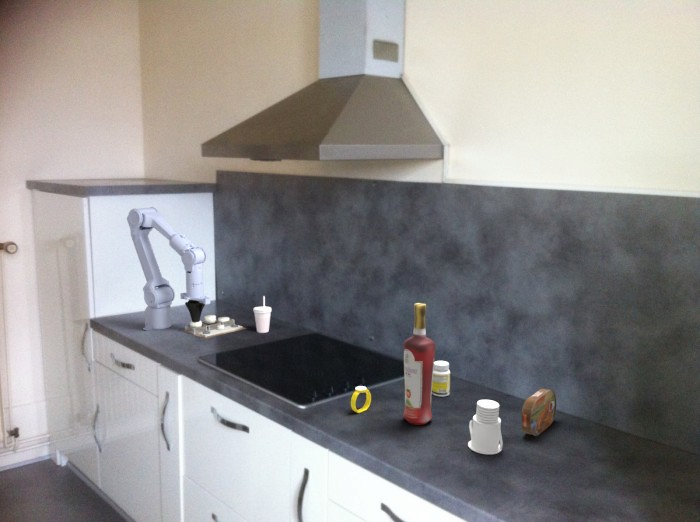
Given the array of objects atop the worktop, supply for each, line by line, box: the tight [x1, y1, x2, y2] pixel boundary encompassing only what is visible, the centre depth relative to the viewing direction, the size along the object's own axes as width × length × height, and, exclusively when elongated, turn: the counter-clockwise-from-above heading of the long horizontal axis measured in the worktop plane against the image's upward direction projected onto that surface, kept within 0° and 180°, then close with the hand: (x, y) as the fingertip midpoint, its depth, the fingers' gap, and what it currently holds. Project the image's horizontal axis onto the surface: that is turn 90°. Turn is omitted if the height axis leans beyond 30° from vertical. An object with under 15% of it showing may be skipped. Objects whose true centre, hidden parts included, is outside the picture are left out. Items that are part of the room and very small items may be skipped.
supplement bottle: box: [432, 360, 451, 398], centre depth 169 cm, size 5×5×8 cm
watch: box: [350, 385, 372, 414], centre depth 157 cm, size 6×3×6 cm, turn 136°
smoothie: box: [252, 295, 273, 334], centre depth 225 cm, size 6×6×14 cm
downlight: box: [467, 399, 504, 455], centre depth 137 cm, size 8×7×10 cm
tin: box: [521, 388, 557, 437], centre depth 147 cm, size 15×3×8 cm, turn 142°
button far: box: [217, 316, 230, 322], centre depth 233 cm, size 4×4×2 cm
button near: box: [189, 320, 203, 328], centre depth 224 cm, size 4×4×2 cm
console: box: [181, 317, 248, 339], centre depth 227 cm, size 14×18×4 cm
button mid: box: [203, 314, 217, 324], centre depth 228 cm, size 4×4×2 cm
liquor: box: [402, 302, 436, 426], centre depth 150 cm, size 7×7×28 cm
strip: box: [198, 324, 244, 337], centre depth 225 cm, size 4×16×2 cm, turn 139°
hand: (195, 321), depth 224 cm, fingers closed, pressing on button near
